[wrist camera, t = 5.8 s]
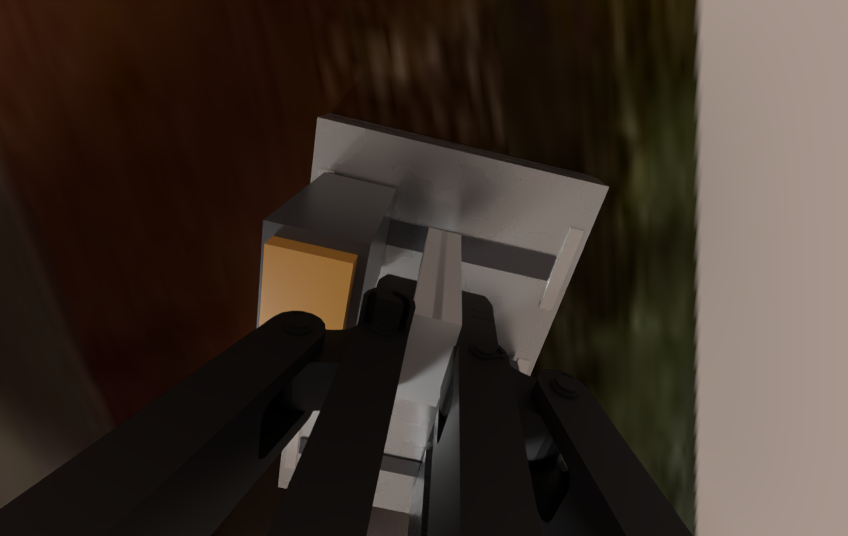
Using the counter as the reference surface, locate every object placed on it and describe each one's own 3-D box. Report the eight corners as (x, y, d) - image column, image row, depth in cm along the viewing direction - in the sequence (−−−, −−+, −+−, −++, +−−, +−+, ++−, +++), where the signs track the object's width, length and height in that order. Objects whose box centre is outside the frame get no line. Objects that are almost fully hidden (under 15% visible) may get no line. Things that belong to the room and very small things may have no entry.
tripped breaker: (314, 259, 19) (247, 350, 13) (324, 172, 17) (253, 227, 11) (379, 274, 19) (345, 371, 13) (396, 188, 17) (366, 252, 11)
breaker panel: (289, 459, 28) (226, 609, 20) (330, 112, 18) (243, 140, 11) (466, 495, 28) (472, 655, 20) (593, 176, 19) (694, 246, 11)
